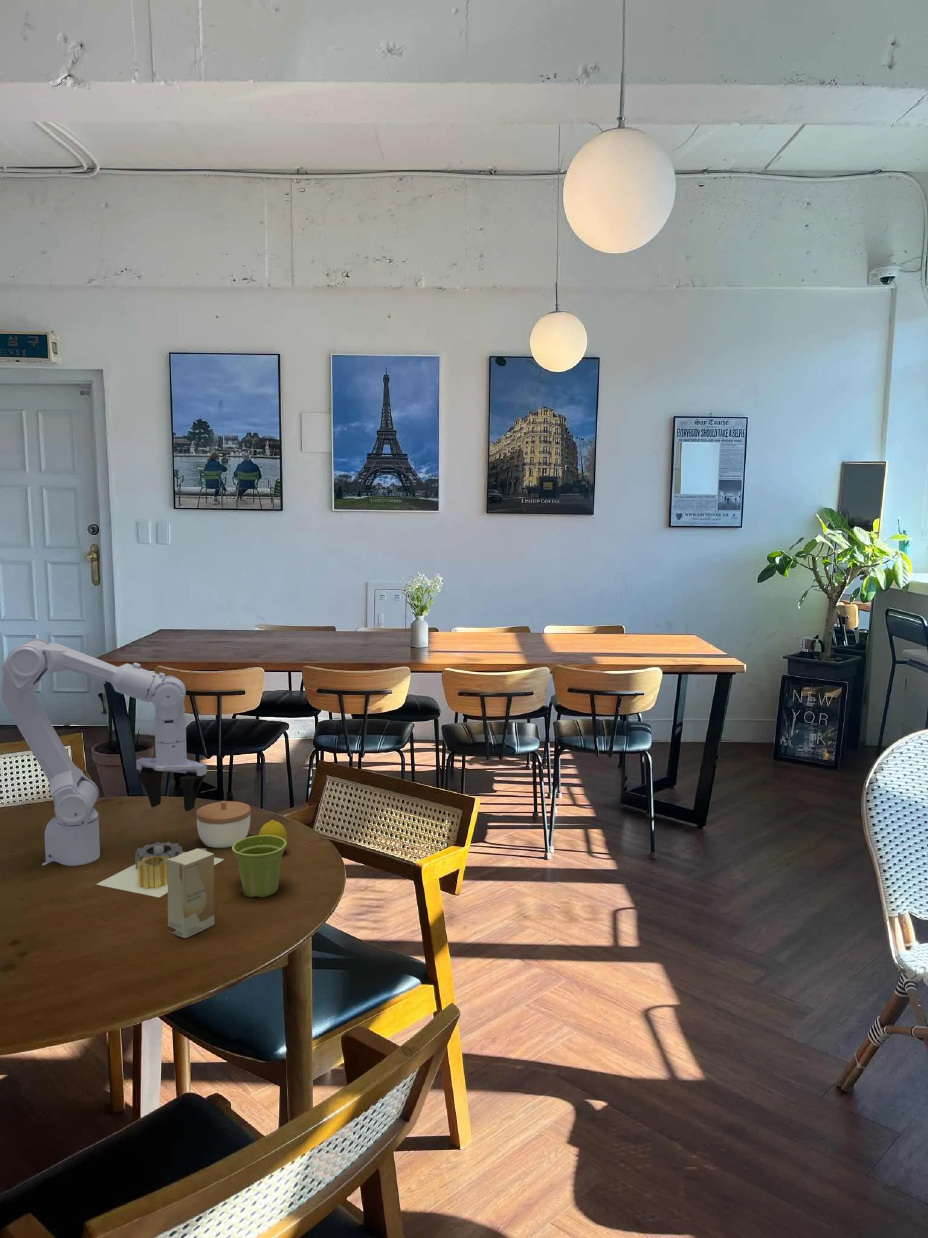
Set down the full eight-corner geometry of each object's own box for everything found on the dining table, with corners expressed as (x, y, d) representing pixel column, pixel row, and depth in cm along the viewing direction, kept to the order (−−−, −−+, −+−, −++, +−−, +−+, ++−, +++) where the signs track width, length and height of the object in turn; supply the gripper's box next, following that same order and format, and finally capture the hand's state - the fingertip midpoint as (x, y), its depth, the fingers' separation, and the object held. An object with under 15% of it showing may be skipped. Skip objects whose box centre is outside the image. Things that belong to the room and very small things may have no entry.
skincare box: (185, 940, 131) (183, 865, 130) (167, 933, 134) (164, 859, 132) (217, 924, 137) (215, 852, 135) (199, 917, 139) (197, 846, 138)
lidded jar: (259, 849, 169) (258, 804, 168) (206, 860, 163) (205, 814, 162) (241, 833, 177) (240, 790, 176) (190, 843, 171) (189, 799, 170)
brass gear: (131, 885, 148) (130, 863, 148) (155, 874, 153) (154, 853, 153) (153, 891, 146) (153, 869, 145) (177, 880, 151) (177, 858, 150)
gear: (126, 870, 155) (125, 854, 155) (157, 854, 162) (156, 839, 162) (161, 877, 152) (161, 861, 152) (191, 860, 160) (190, 845, 159)
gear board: (96, 890, 149) (95, 865, 148) (165, 854, 165) (165, 831, 165) (159, 904, 144) (158, 877, 143) (224, 865, 160) (223, 841, 160)
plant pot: (252, 908, 143) (251, 859, 142) (222, 891, 149) (221, 844, 148) (297, 891, 150) (296, 844, 149) (267, 875, 156) (266, 831, 155)
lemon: (280, 866, 160) (279, 826, 159) (253, 863, 161) (252, 823, 161) (291, 855, 166) (291, 816, 165) (266, 853, 167) (265, 814, 166)
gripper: (125, 742, 160) (127, 810, 162) (191, 748, 156) (193, 818, 158) (148, 733, 167) (150, 799, 168) (212, 739, 163) (213, 806, 165)
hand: (172, 807), depth 164 cm, fingers open, 7 cm apart
